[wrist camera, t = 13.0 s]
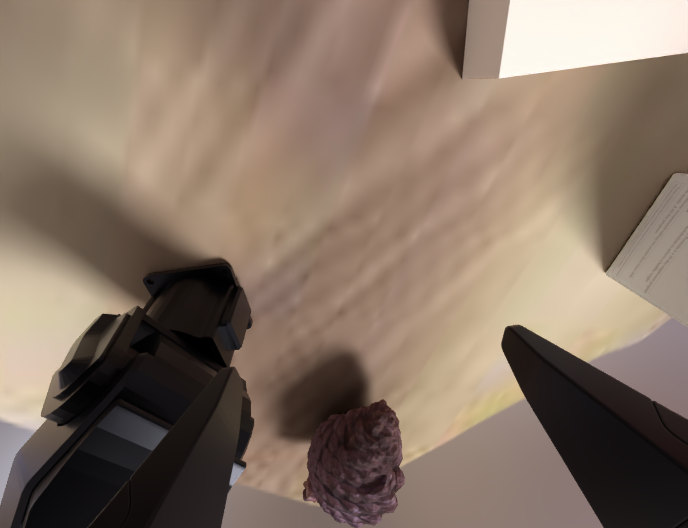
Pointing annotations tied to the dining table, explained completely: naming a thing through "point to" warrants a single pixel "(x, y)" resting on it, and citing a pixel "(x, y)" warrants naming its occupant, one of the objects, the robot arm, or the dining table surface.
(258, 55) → the dining table surface
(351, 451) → the pine cone
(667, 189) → the supplement box
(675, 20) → the white flat square block
